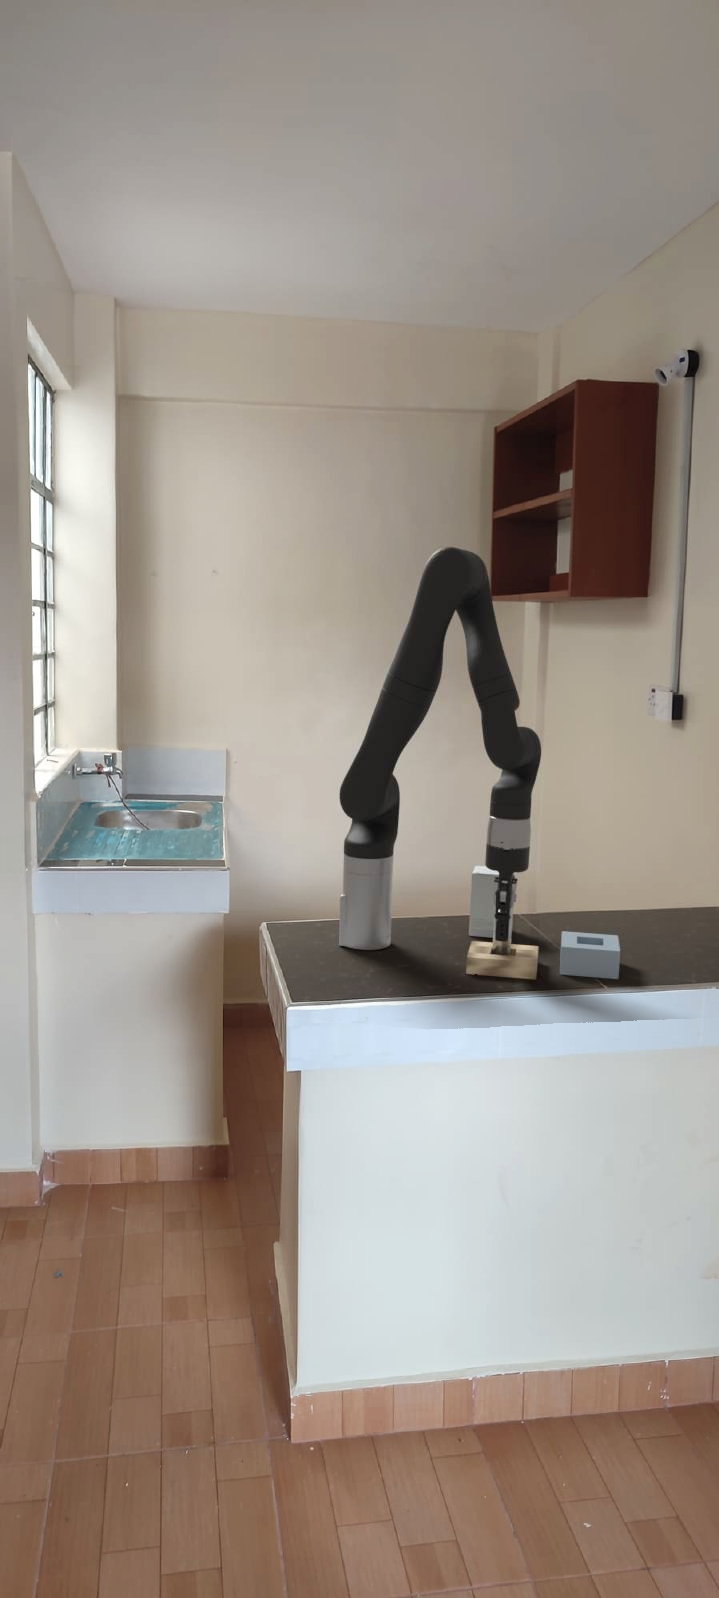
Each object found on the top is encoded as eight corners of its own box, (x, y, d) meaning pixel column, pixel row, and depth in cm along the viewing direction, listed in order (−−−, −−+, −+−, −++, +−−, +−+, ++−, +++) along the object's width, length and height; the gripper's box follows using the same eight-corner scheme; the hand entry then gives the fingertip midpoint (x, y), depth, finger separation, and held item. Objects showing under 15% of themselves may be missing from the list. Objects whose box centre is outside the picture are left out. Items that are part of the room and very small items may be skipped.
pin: (488, 962, 199) (492, 896, 197) (490, 955, 203) (494, 890, 201) (511, 964, 198) (515, 898, 196) (512, 957, 202) (517, 892, 200)
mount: (466, 973, 197) (466, 957, 196) (471, 956, 207) (471, 941, 206) (535, 979, 195) (536, 962, 194) (537, 962, 205) (538, 946, 204)
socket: (559, 974, 198) (561, 946, 197) (560, 957, 208) (561, 931, 207) (618, 979, 196) (620, 951, 195) (616, 962, 206) (617, 935, 205)
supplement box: (506, 939, 219) (509, 875, 216) (467, 936, 220) (470, 872, 218) (508, 929, 226) (512, 867, 224) (471, 926, 227) (474, 864, 225)
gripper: (489, 832, 204) (484, 925, 207) (483, 848, 191) (477, 947, 194) (531, 835, 203) (525, 929, 206) (528, 852, 189) (521, 951, 192)
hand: (502, 937), depth 200 cm, fingers closed on pin, 3 cm apart
